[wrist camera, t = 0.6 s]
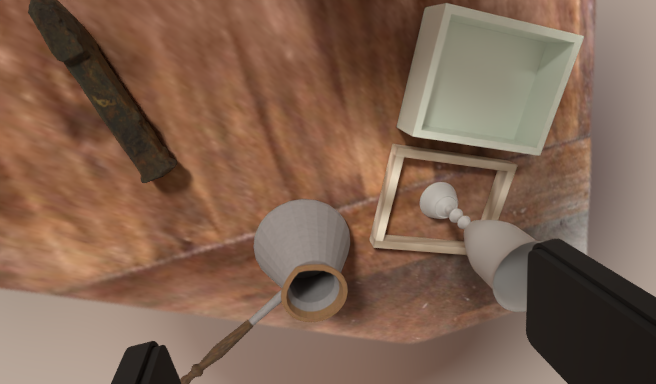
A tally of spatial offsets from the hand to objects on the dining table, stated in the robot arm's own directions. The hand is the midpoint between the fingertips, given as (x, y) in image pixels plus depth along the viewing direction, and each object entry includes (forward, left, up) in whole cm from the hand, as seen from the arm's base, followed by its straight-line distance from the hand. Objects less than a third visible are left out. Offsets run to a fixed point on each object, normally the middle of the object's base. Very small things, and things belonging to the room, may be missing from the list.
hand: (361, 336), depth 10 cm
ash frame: (+8, +22, -36) cm, 42 cm away
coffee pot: (+18, +1, -36) cm, 40 cm away
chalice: (+8, +22, -36) cm, 43 cm away
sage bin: (-7, +22, -36) cm, 42 cm away
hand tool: (+1, -17, -36) cm, 40 cm away
